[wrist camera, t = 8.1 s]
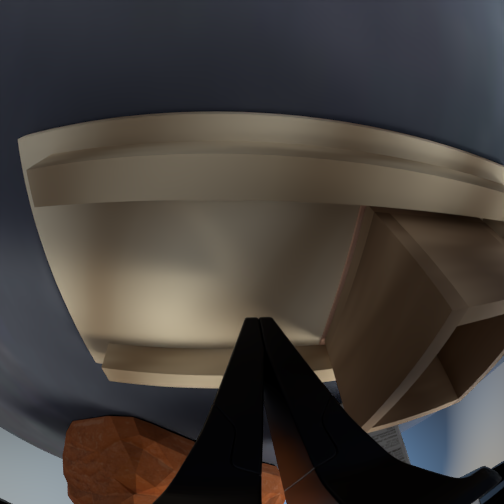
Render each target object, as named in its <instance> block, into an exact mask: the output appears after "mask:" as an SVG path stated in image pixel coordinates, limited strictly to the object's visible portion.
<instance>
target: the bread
mask: <svg viewBox="0 0 504 504" xmlns="http://www.w3.org/2000/svg"><path fill="white" fill-rule="evenodd" d="M194 444H195V442H194V441H191V440H189V439H186V438H184V437H181V436H179V435H177V434H174V433H172V432H169V431H167V430H165V429H163V428H160V427H158V426H156V425H154V424H151V423H148V422H145V421H142V420H140V419H137V418H134V417H121V416H103V417H97V418H90V419H83V420H76V421H72V423H71V425H70V426H69V428H68V430H67V432H66V439H65V446H64V451H63V473H64V476H65V478H66V480H67V482H68V496H69V498H70V499H71V500H72V502H73V503H74V504H152V503H153V502H154V501H155V500H156V499H157V498H158V497H159V496H160V495H161V494H162V493H163V492H164V491H165V490H166V488H167V487H168V486H169V484H170V483H171V482H172V480H173V479H174V477H175V476H176V474H177V472H178V471H179V469H180V467H181V466H182V464H183V463H184V461H185V459H186V458H187V456H188V454H189V452H190V451H191V449H192V447H193V446H194ZM261 476H262V504H284V502H285V494H284V492H285V491H284V490H283V486H282V481H281V477H280V473H279V470H278V469H277V467H276V466H273V465H269V464H265V463H262V475H261Z"/></svg>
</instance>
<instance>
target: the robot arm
mask: <svg viewBox="0 0 504 504" xmlns="http://www.w3.org/2000/svg"><path fill="white" fill-rule="evenodd" d="M263 401H264V405H265V409H266V414H267V419H268V423H269V428H270V432H271V437H272V441H273V446H274V450H275V455H276V459H277V464H278V468H279V473H280V477H281V481H282V486H283V490H284V491H285V492H284V494H285V499H286V503H287V504H504V461H503V462H501V463H499V464H498V465H496V466H495V467H493V468H492V469H490V468H488V467H486V466H482V467H480V468H478V469H476V470H474V471H472V472H470V473H468V474H466V475H464V476H462V477H460V478H453V477H449V476H445V475H442V474H438V473H435V472H432V471H428V470H425V469H422V468H419V467H416V466H413V465H410V464H408V463H405V462H402V461H400V460H398V459H397V458H395V457H394V456H392V455H391V454H389V453H388V452H387V451H386V450H385V449H384V448H383V447H382V446H380V445H379V444H378V443H377V442H376V441H375V440H374V439H373V438H372V437H371V436H370V435H369V434H368V433H367V432H365V431H364V430H363V429H362V428H361V427H360V426H359V425H358V424H357V423H356V422H355V421H354V420H353V419H352V418H351V417H350V416H349V414H348V413H347V412H346V411H345V410H344V409H343V407H342V406H341V405H340V404H339V403H338V401H337V400H336V399H335V398H334V396H331V393H330V391H329V390H328V389H327V388H326V386H325V385H324V384H323V383H322V381H321V380H320V379H319V377H318V376H317V375H316V374H315V372H314V371H313V370H312V369H311V367H310V366H309V365H308V363H307V362H306V361H305V360H304V358H303V357H302V356H301V354H300V353H299V352H298V351H297V349H296V348H295V347H294V345H293V344H292V343H291V341H290V340H289V339H288V338H287V336H286V335H285V334H284V332H283V331H282V330H281V328H280V327H279V326H278V324H277V323H276V322H275V321H274V319H273V318H272V317H260V318H259V319H258V318H257V317H246V318H245V319H244V322H243V325H242V327H241V330H240V333H239V336H238V338H237V341H236V344H235V346H234V349H233V352H232V354H231V357H230V360H229V362H228V365H227V368H226V371H225V373H224V376H223V378H222V381H221V384H220V386H219V389H218V392H217V394H216V397H215V400H214V402H213V405H212V407H211V410H210V412H209V415H208V417H207V419H206V422H205V424H204V426H203V429H202V431H201V433H200V435H199V436H198V438H197V440H196V442H195V444H194V446H193V447H192V449H191V451H190V452H189V454H188V456H187V458H186V459H185V461H184V463H183V464H182V466H181V467H180V469H179V471H178V472H177V474H176V476H175V477H174V479H173V480H172V482H171V483H170V484H169V486H168V487H167V488H166V490H165V491H164V492H163V493H162V494H161V495H160V496H159V497H158V498H157V499H156V500H155V501H154V502H153V503H152V504H262V476H261V475H262V448H263ZM0 504H11V503H9V502H7V501H5V500H3V499H1V498H0Z"/></svg>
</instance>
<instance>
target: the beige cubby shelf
mask: <svg viewBox="0 0 504 504" xmlns="http://www.w3.org/2000/svg"><path fill="white" fill-rule="evenodd" d="M18 146H19V152H20V159H21V164H22V170H23V175H24V180H25V184H26V189H27V193H28V197H29V201H30V205H31V209H32V213H33V216H34V220H35V223H36V227H37V230H38V233H39V236H40V240H41V243H42V246H43V249H44V251H45V254H46V257H47V260H48V263H49V265H50V268H51V271H52V273H53V276H54V278H55V281H56V283H57V286H58V288H59V290H60V293H61V295H62V297H63V299H64V302H65V304H66V306H67V308H68V310H69V313H70V315H71V317H72V319H73V321H74V323H75V325H76V327H77V329H78V331H79V333H80V335H81V337H82V339H83V340H84V342H85V344H86V346H87V348H88V350H89V351H90V353H91V355H92V357H93V358H94V360H95V362H96V363H102V369H103V371H104V373H105V374H106V376H107V378H108V379H109V381H114V382H122V383H131V384H141V385H152V386H165V387H184V388H219V386H220V384H221V381H222V378H223V376H224V373H225V371H226V368H227V365H228V362H229V360H230V357H231V354H232V352H233V349H234V346H235V344H236V341H237V338H238V336H239V333H240V330H241V327H242V325H243V322H244V319H245V318H246V317H257V318H258V319H259V318H260V317H272V318H273V319H274V321H275V322H276V323H277V324H278V326H279V327H280V328H281V330H282V331H283V332H284V334H285V335H286V336H287V338H288V339H289V340H290V341H291V343H292V344H293V345H294V347H295V348H296V349H297V351H298V352H299V353H300V354H301V356H302V357H303V358H304V360H305V361H306V362H307V363H308V365H309V366H310V367H311V369H312V370H313V371H314V372H315V374H316V375H317V376H318V377H319V379H320V380H321V381H322V382H328V381H335V380H336V379H335V375H334V372H333V369H332V365H331V362H330V359H329V355H328V352H327V349H326V345H325V342H324V341H325V338H326V335H327V333H328V330H329V327H330V324H331V321H332V319H333V316H334V313H335V310H336V307H337V304H338V301H339V298H340V295H341V292H342V289H343V286H344V283H345V280H346V277H347V273H348V270H349V267H350V263H351V260H352V257H353V253H354V250H355V246H356V243H357V239H358V235H359V232H360V228H361V224H362V220H363V216H364V212H365V208H366V206H377V207H389V208H400V209H410V210H420V211H429V212H438V213H447V214H455V215H463V216H470V217H478V218H480V219H481V220H482V221H483V222H485V223H486V224H487V225H488V226H489V227H490V228H491V229H493V230H494V231H495V232H496V233H497V234H498V235H499V236H500V237H501V238H503V239H504V166H503V165H501V164H498V163H496V162H493V161H491V160H488V159H485V158H483V157H480V156H477V155H474V154H472V153H469V152H466V151H463V150H460V149H457V148H454V147H451V146H447V145H444V144H441V143H437V142H434V141H431V140H427V139H423V138H420V137H416V136H412V135H408V134H404V133H399V132H395V131H391V130H386V129H381V128H376V127H371V126H366V125H361V124H355V123H349V122H343V121H336V120H330V119H322V118H314V117H306V116H296V115H285V114H272V113H255V112H175V113H158V114H145V115H135V116H125V117H117V118H109V119H102V120H96V121H89V122H83V123H78V124H72V125H67V126H62V127H57V128H53V129H48V130H44V131H40V132H36V133H32V134H28V135H25V136H23V137H21V138H19V139H18Z"/></svg>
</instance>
